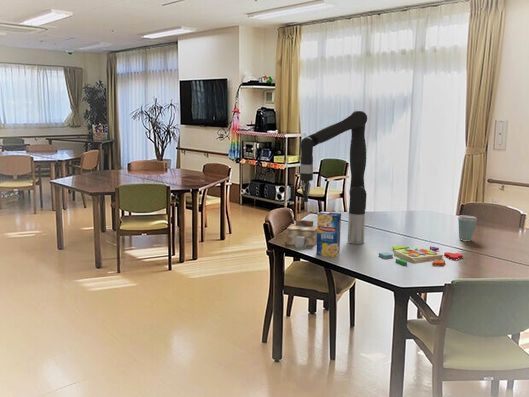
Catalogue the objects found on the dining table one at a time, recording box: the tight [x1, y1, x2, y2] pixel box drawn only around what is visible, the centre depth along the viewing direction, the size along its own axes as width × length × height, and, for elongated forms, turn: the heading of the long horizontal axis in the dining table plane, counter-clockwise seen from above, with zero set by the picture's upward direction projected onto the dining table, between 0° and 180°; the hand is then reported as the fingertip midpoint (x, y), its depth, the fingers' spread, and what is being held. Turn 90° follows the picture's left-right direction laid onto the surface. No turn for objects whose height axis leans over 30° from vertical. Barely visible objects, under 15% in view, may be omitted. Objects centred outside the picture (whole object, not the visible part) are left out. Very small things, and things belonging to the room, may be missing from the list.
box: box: [285, 229, 317, 247], centre depth 285 cm, size 16×12×8 cm
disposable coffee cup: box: [457, 214, 478, 241], centre depth 295 cm, size 11×11×15 cm
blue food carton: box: [315, 211, 342, 258], centre depth 261 cm, size 7×11×22 cm, turn 68°
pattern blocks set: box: [378, 245, 464, 267], centre depth 261 cm, size 38×34×3 cm
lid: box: [286, 219, 317, 232], centre depth 284 cm, size 16×12×4 cm
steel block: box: [294, 236, 306, 249], centre depth 276 cm, size 4×4×6 cm
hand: (305, 201), depth 288 cm, fingers closed
